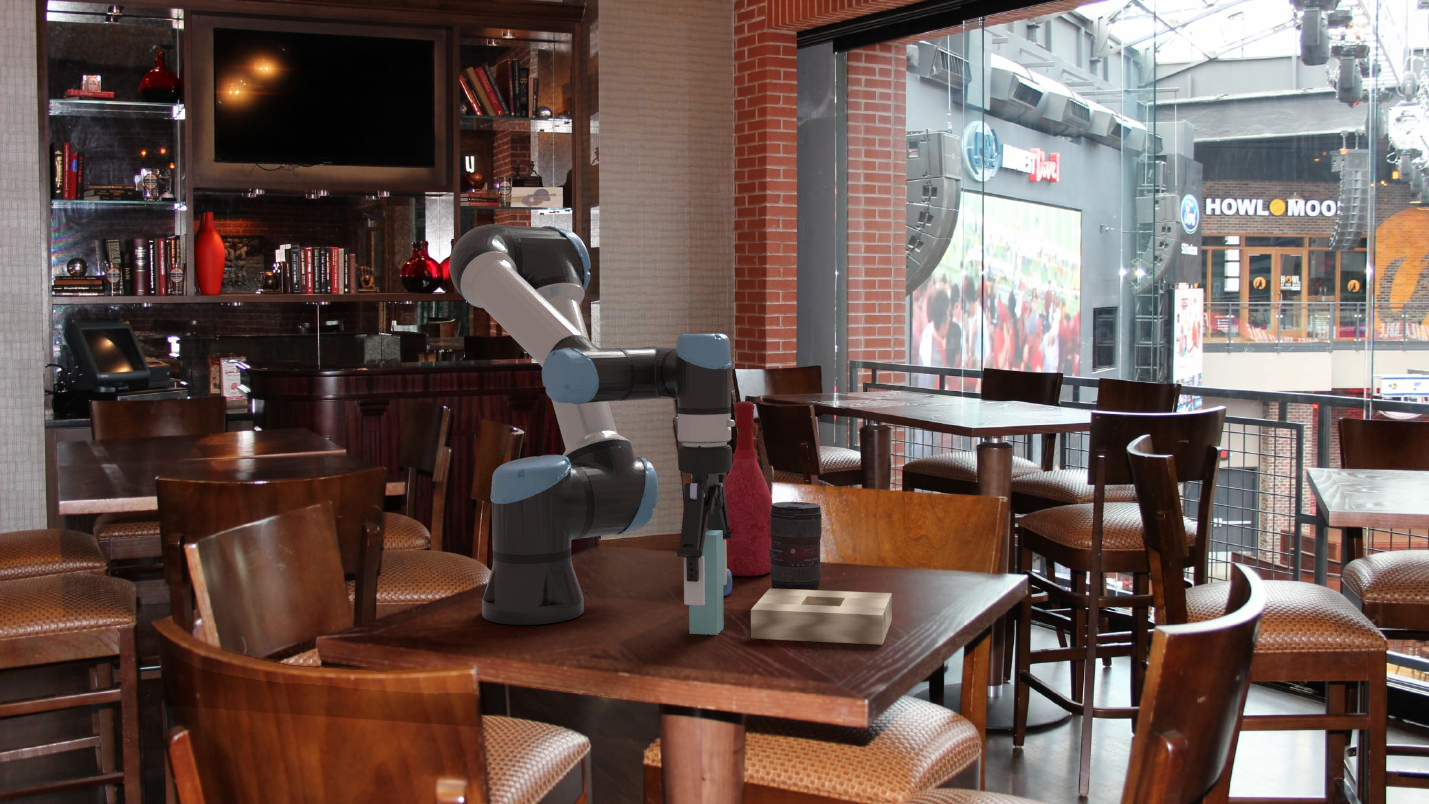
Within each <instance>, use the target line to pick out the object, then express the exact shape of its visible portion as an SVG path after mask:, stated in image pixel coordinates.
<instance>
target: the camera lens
mask: <svg viewBox="0 0 1429 804" xmlns="http://www.w3.org/2000/svg"><path fill="white" fill-rule="evenodd" d="M772 503H773V504H772V509H771V513H770V537H771V548H770V557H771V571H770V581H771V589H795V590H819V589H820V586H821V585H820V584H821V576H822V572H821V571H822V568H821V567H822V565H821V539H822V533H823V532H822V531H823V530H822V519H823V518H822V511H821V505H820V504H818V503H814V502H807V501H804V502H802V501H780V502H772Z"/></svg>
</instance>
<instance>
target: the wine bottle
mask: <svg viewBox="0 0 1429 804" xmlns="http://www.w3.org/2000/svg"><path fill="white" fill-rule="evenodd" d="M734 409H735V414H736V415H735V419H736V420H735V427H736V429H737V436H736V447H735V451H734V454H733V460H732V468H731V470H730V471H729V472H727V473H728V474H727V476H726V478H725V479H724V487H725V495H726V503H727V511H728V519H729V527H730V530H729V532H732V538H731V539H724V540H726V553H727V569H729V570H730V572H731V576H732V577H757V576H758V577H759V576H764V575H766V574H769V573H771V557H770V548H771V537H770V513H771V509H772V504H773V503H774V502H773V500H772V496H771V491H770V489H769V486H768V484H767V481H766V478H765V477H764V474H763V472H762V470H761V467H760V465H759V463H758V460H757V459H758V458H757V454H756V450H755V446H754V433H753V432H754V431H753V430H754V427H755V421H754V420H755V419H754V415H755V413H754V411H755V404H754V403H753V402H752V401H748V400H747V401H746V400H745V401H738V402H737V403H735V406H734Z"/></svg>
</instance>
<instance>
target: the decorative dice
mask: <svg viewBox="0 0 1429 804" xmlns="http://www.w3.org/2000/svg"><path fill="white" fill-rule="evenodd" d="M732 591H733V576H732V575H731V572H730V570H729V569H727V584H726V585H723V597H727V596H729V595H730V594H731V593H732Z"/></svg>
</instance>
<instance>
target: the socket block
mask: <svg viewBox="0 0 1429 804" xmlns="http://www.w3.org/2000/svg"><path fill="white" fill-rule="evenodd" d="M892 595H893V593H891V592H868V591H867V592H866V591H863V592H862V591H847V590H845V591H844V590H843V591H842V590H819V589H818V590H795V589H773V588H769V589H768V590H766V592H765V593H764V594H763V595H762V596H761V598H760V599H759V600H758V601H757V602H756V603H755V604H754V605H753V606H752V607H751V609H750V638H751V639H758V640H760V639H761V640H778V641H798V642H799V641H800V642H817V643H818V642H821V643H841V644H842V643H843V644H844V643H845V644H859V645H861V644H862V645H883V644H884V643H885V639H886V637H887V634H888V632H889V630H890V629H889V628H890V626H891V624H892V621H893V616H892V615H893V614H892V613H893V605H892V604H893V601H892V600H893V596H892Z"/></svg>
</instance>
